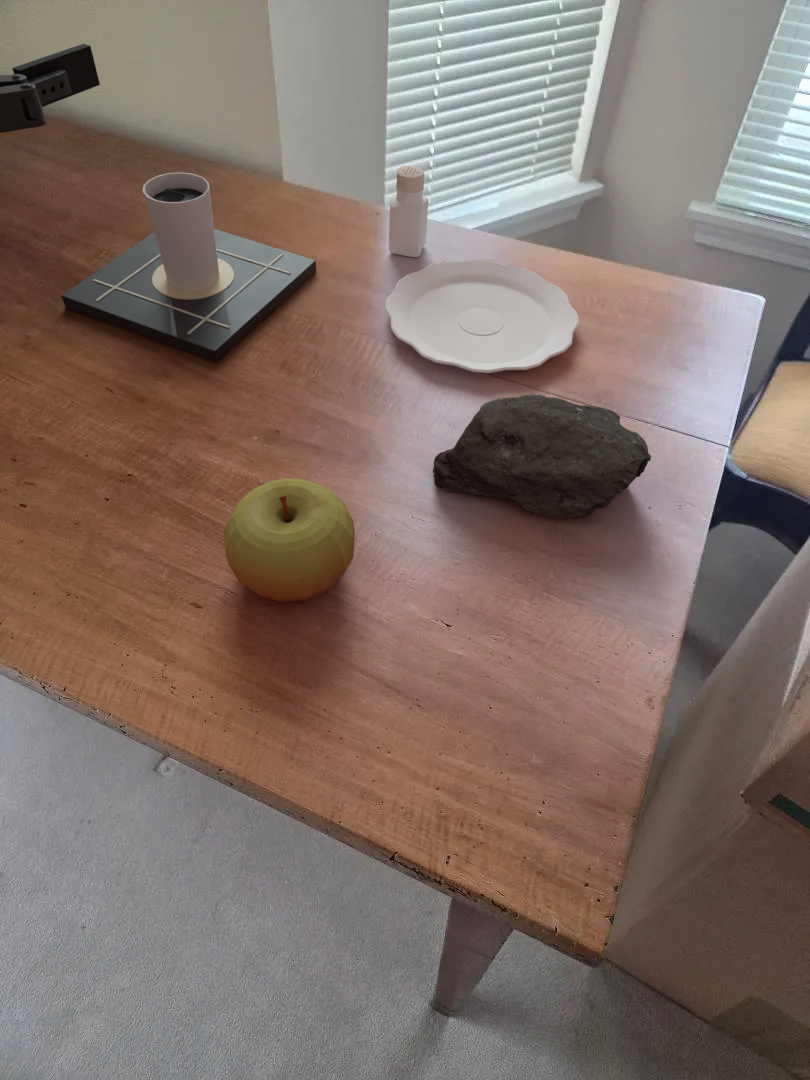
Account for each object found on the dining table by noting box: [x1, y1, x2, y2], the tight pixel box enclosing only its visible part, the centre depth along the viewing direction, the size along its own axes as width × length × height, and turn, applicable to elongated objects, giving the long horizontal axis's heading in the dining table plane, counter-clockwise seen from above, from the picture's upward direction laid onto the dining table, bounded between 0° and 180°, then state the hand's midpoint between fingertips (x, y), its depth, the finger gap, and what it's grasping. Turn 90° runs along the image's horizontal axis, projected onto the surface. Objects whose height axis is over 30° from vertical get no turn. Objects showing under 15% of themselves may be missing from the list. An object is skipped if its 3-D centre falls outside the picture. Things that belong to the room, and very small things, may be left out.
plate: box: [384, 258, 580, 374], centre depth 83 cm, size 21×21×2 cm
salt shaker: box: [388, 164, 429, 258], centre depth 89 cm, size 4×4×10 cm
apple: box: [223, 478, 356, 603], centre depth 57 cm, size 10×10×8 cm
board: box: [61, 228, 317, 364], centre depth 85 cm, size 20×20×2 cm
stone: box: [432, 394, 652, 518], centre depth 65 cm, size 18×9×10 cm
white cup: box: [142, 171, 219, 291], centre depth 80 cm, size 7×7×10 cm
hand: (34, 43), depth 61 cm, fingers open, 13 cm apart
